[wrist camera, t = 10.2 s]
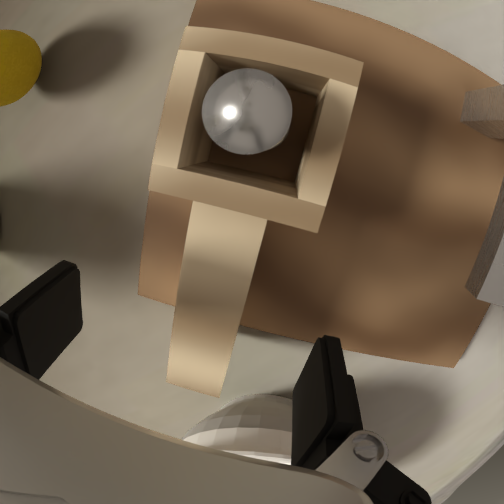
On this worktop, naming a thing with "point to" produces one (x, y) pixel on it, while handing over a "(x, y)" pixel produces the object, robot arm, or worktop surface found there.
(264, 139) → the ball
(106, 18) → the worktop surface
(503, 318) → the worktop surface
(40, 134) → the worktop surface
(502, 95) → the bracket
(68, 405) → the robot arm
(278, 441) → the bowl
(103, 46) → the worktop surface
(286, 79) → the link
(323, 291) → the board
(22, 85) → the lemon
